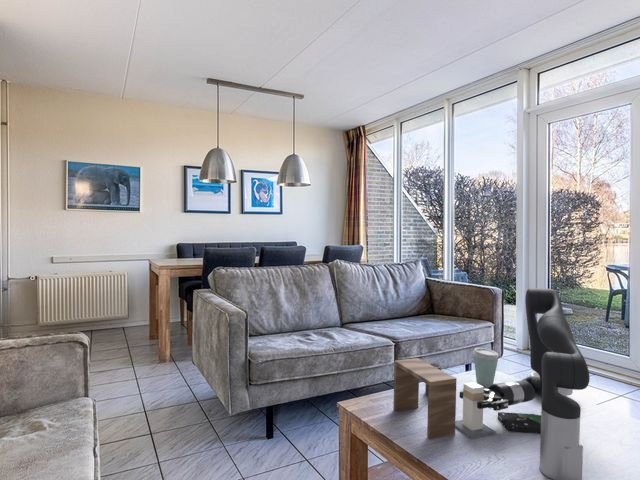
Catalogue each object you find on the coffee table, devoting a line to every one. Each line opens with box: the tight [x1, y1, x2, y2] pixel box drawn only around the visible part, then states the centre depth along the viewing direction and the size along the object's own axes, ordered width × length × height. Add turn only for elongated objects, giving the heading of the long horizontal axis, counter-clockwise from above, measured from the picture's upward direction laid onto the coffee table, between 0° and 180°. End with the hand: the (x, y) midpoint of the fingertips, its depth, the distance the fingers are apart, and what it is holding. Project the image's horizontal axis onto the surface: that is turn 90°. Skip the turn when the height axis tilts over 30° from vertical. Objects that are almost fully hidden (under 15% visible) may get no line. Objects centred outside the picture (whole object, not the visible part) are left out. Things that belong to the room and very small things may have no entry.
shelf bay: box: [392, 357, 458, 440], centre depth 141 cm, size 22×10×18 cm, turn 21°
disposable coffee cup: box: [472, 347, 499, 388], centre depth 176 cm, size 11×11×15 cm
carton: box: [462, 381, 485, 430], centre depth 136 cm, size 5×5×14 cm
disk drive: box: [497, 411, 541, 435], centre depth 139 cm, size 10×3×15 cm
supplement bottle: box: [424, 363, 442, 397], centre depth 164 cm, size 7×7×12 cm
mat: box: [455, 419, 496, 439], centre depth 136 cm, size 10×10×1 cm
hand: (468, 400), depth 135 cm, fingers open, 8 cm apart
